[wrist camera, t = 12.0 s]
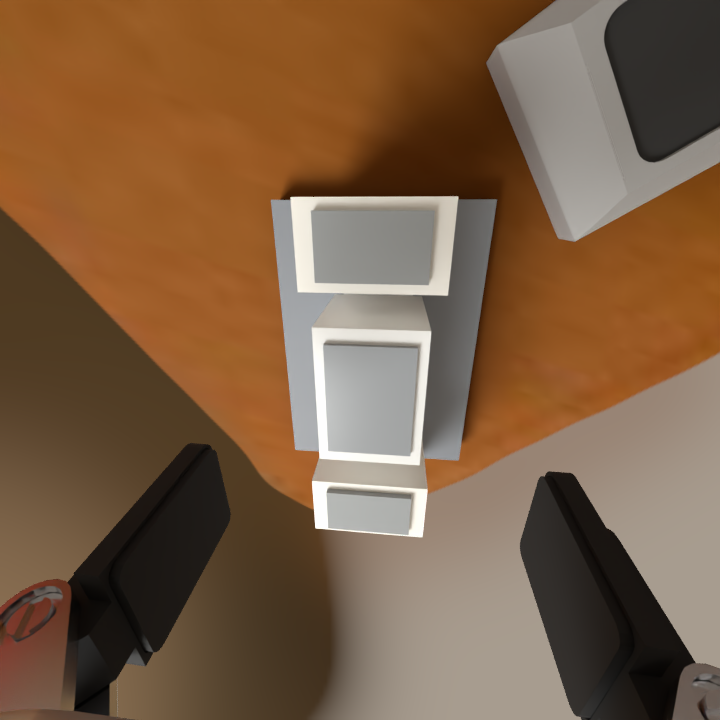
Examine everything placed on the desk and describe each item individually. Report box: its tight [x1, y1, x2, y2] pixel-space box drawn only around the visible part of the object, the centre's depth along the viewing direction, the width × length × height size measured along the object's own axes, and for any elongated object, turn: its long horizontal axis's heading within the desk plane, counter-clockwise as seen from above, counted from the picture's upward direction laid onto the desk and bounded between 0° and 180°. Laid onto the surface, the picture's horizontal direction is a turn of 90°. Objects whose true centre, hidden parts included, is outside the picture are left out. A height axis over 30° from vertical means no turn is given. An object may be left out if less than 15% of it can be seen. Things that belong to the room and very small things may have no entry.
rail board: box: [271, 196, 497, 537], centre depth 19 cm, size 12×17×8 cm
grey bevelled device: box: [486, 0, 720, 242], centre depth 15 cm, size 10×4×15 cm
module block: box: [312, 294, 431, 465], centre depth 18 cm, size 5×7×6 cm
